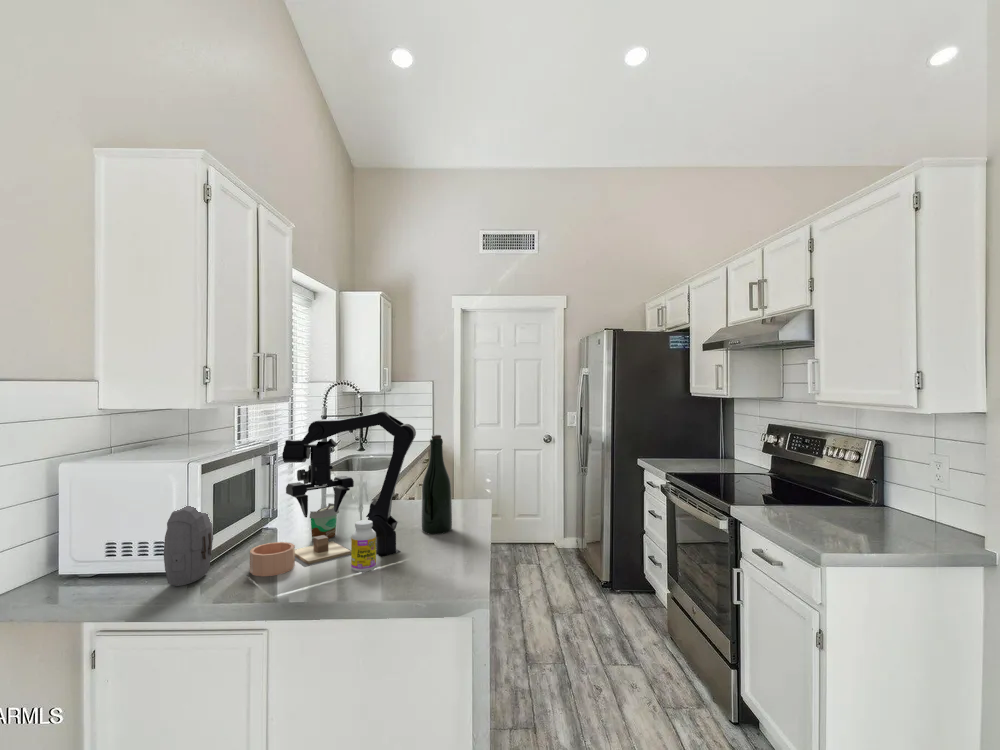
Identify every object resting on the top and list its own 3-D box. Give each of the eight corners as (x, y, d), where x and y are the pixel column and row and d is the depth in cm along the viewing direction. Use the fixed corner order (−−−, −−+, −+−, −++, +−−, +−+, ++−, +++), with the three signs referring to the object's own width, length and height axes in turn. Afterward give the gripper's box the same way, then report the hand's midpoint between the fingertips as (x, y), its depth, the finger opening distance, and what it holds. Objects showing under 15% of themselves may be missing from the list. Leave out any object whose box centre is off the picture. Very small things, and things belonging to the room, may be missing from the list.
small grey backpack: (191, 570, 145) (191, 497, 145) (222, 569, 145) (222, 497, 145) (158, 592, 130) (158, 511, 130) (193, 591, 130) (193, 510, 130)
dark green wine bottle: (416, 533, 178) (415, 436, 178) (429, 525, 188) (428, 433, 188) (445, 536, 175) (444, 436, 175) (456, 527, 185) (456, 433, 185)
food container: (327, 544, 167) (326, 512, 167) (309, 543, 168) (309, 511, 168) (345, 532, 179) (345, 503, 179) (329, 532, 180) (329, 502, 180)
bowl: (300, 570, 144) (300, 548, 144) (258, 581, 137) (258, 558, 137) (285, 560, 152) (285, 539, 152) (245, 569, 145) (244, 548, 145)
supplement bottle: (354, 574, 141) (353, 526, 141) (348, 566, 147) (348, 520, 147) (378, 570, 144) (378, 523, 144) (372, 562, 150) (372, 517, 150)
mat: (358, 555, 156) (358, 553, 156) (305, 568, 145) (305, 566, 145) (334, 543, 168) (334, 541, 168) (283, 554, 157) (283, 553, 157)
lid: (351, 553, 156) (351, 537, 156) (308, 564, 147) (308, 547, 147) (332, 543, 166) (332, 528, 166) (290, 553, 157) (290, 537, 157)
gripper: (338, 456, 169) (338, 504, 169) (278, 462, 157) (279, 515, 156) (354, 459, 161) (354, 510, 161) (293, 467, 148) (293, 522, 148)
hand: (321, 514), depth 157 cm, fingers open, 9 cm apart
